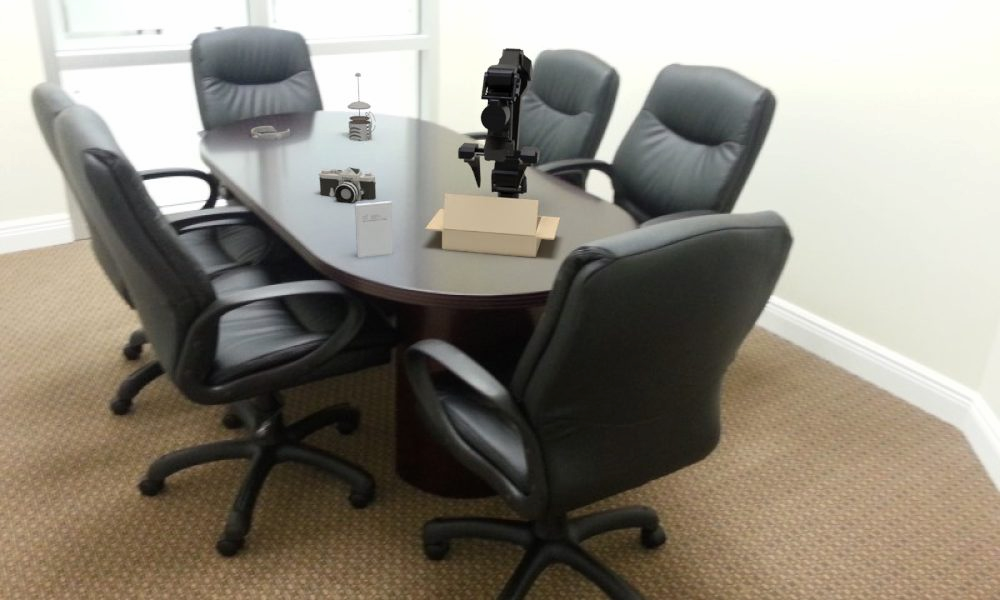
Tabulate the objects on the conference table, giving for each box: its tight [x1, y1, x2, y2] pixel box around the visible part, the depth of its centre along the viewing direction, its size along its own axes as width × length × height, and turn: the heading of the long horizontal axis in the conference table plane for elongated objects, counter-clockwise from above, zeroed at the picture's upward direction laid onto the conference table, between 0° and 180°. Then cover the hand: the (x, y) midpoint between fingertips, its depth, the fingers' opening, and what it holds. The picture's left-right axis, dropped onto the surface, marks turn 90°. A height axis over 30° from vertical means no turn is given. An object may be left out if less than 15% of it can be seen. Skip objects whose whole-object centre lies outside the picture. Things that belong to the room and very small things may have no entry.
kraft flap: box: [443, 193, 540, 236], centre depth 185 cm, size 8×22×1 cm
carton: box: [425, 208, 561, 258], centre depth 194 cm, size 16×30×5 cm, turn 81°
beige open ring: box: [250, 125, 292, 141], centre depth 285 cm, size 14×14×5 cm
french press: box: [346, 72, 376, 142], centre depth 282 cm, size 10×12×25 cm
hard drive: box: [354, 200, 394, 258], centre depth 182 cm, size 2×8×12 cm, turn 115°
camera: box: [318, 166, 377, 204], centre depth 221 cm, size 16×9×10 cm, turn 80°
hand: (498, 188), depth 194 cm, fingers open, 9 cm apart
